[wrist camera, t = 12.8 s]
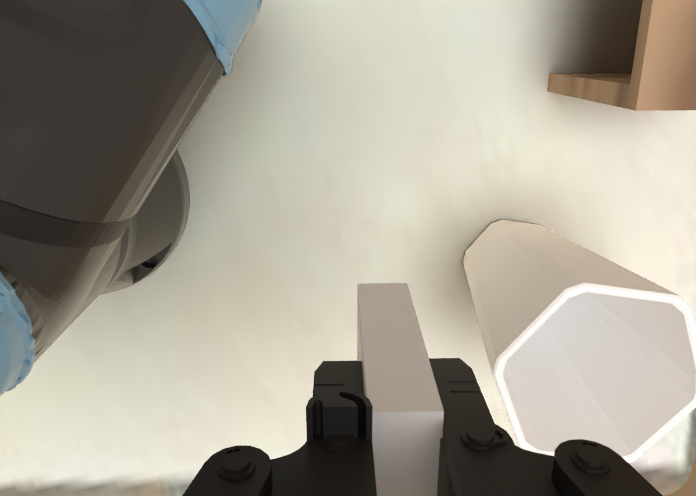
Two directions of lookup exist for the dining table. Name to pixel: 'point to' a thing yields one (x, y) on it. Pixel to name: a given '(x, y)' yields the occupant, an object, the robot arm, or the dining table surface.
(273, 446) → the dining table surface
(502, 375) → the cup
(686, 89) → the walnut shelf
